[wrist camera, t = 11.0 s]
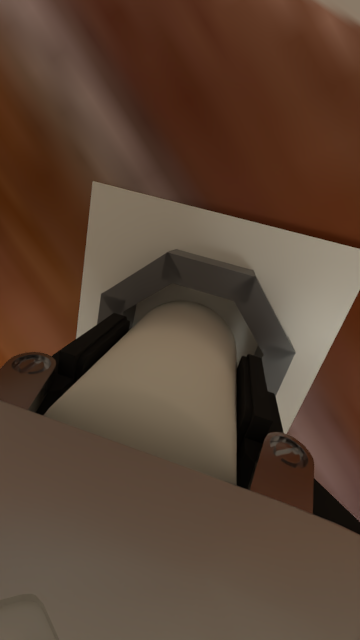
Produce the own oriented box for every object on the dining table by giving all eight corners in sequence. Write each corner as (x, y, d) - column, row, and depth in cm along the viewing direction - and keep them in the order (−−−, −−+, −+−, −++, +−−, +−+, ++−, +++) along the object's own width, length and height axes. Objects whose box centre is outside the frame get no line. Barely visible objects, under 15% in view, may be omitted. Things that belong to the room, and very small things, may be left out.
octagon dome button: (367, 251, 12) (402, 257, 9) (266, 457, 17) (271, 499, 14) (102, 184, 13) (70, 173, 11) (78, 391, 18) (51, 418, 16)
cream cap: (251, 318, 12) (270, 434, 5) (218, 408, 13) (202, 576, 7) (144, 287, 12) (38, 356, 6) (126, 377, 14) (31, 507, 8)
